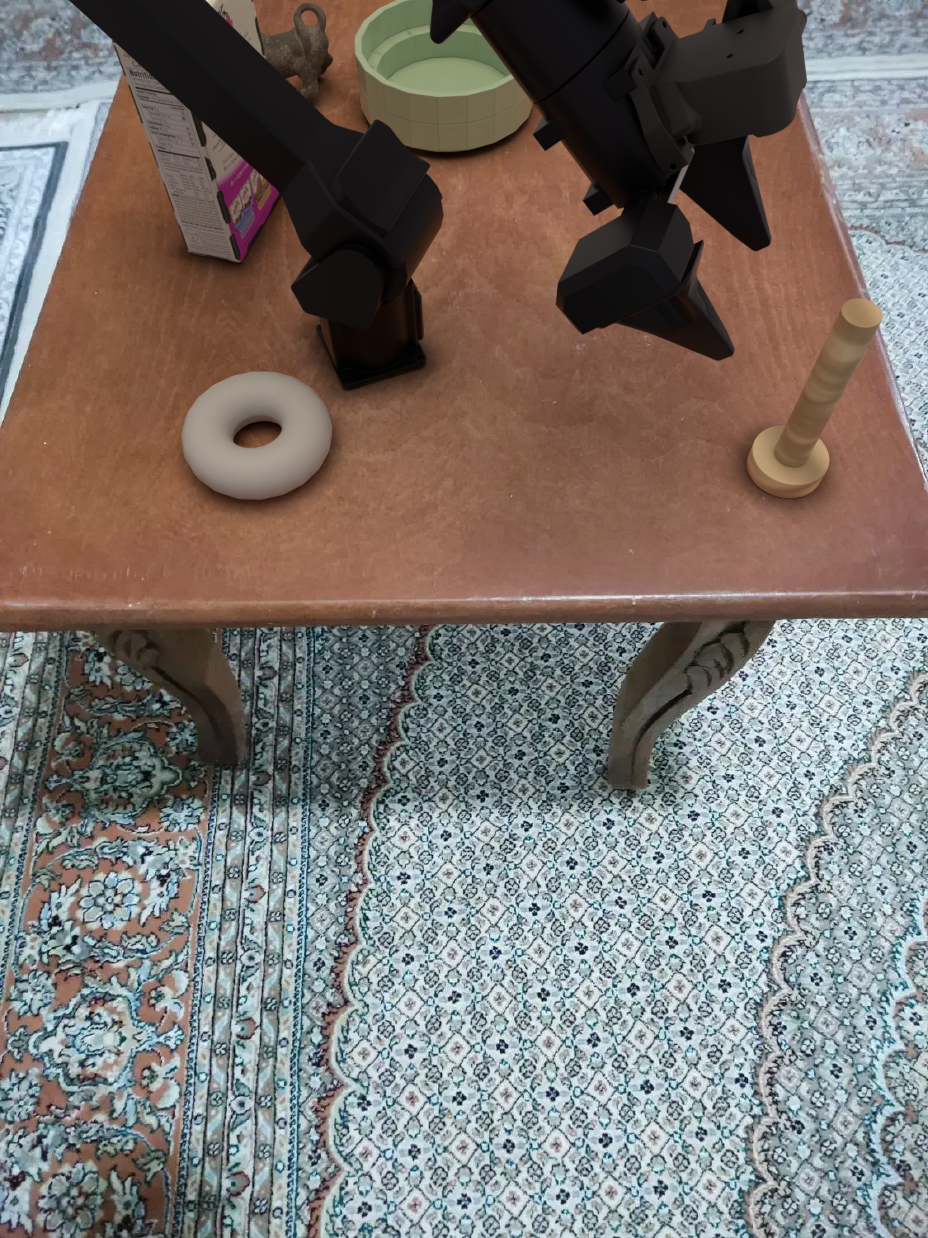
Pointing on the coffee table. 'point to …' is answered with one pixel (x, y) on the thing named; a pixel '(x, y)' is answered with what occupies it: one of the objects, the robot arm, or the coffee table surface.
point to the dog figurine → (301, 50)
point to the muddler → (814, 408)
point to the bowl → (434, 81)
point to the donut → (266, 465)
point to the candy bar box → (203, 158)
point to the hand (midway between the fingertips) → (746, 299)
